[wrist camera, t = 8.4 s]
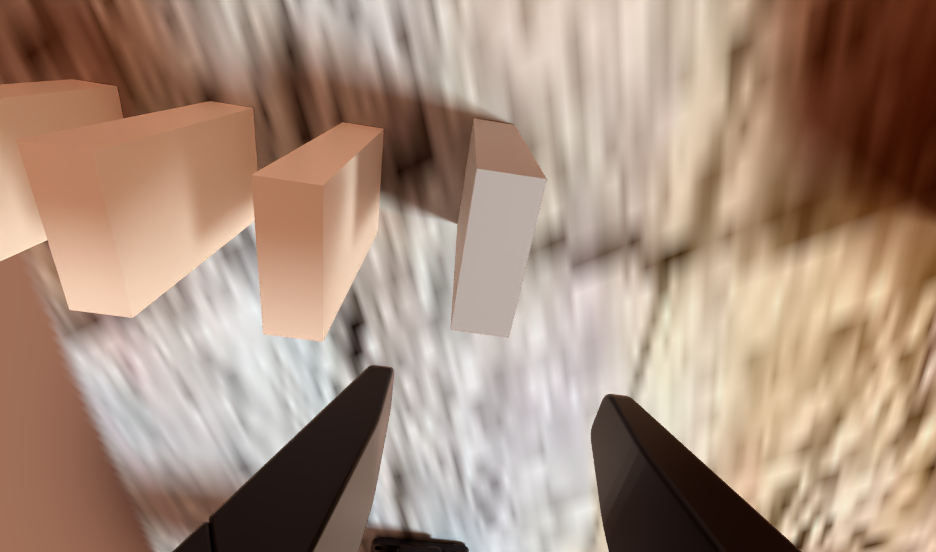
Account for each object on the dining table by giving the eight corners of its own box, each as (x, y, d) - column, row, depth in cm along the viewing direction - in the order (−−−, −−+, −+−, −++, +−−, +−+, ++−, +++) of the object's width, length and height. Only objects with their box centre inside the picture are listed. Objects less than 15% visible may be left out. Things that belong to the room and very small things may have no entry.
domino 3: (377, 232, 19) (323, 341, 12) (340, 227, 19) (263, 334, 12) (383, 128, 17) (323, 185, 10) (342, 122, 17) (251, 174, 10)
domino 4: (493, 229, 19) (508, 337, 12) (457, 224, 19) (450, 329, 12) (514, 124, 17) (546, 179, 10) (473, 118, 17) (476, 168, 10)
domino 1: (140, 198, 18) (-70, 292, 11) (100, 192, 18) (-136, 284, 11) (117, 86, 16) (-155, 114, 9) (72, 79, 16) (-237, 102, 9)
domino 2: (260, 215, 19) (132, 318, 12) (222, 210, 19) (69, 309, 11) (253, 107, 17) (92, 151, 10) (210, 101, 17) (15, 139, 9)
